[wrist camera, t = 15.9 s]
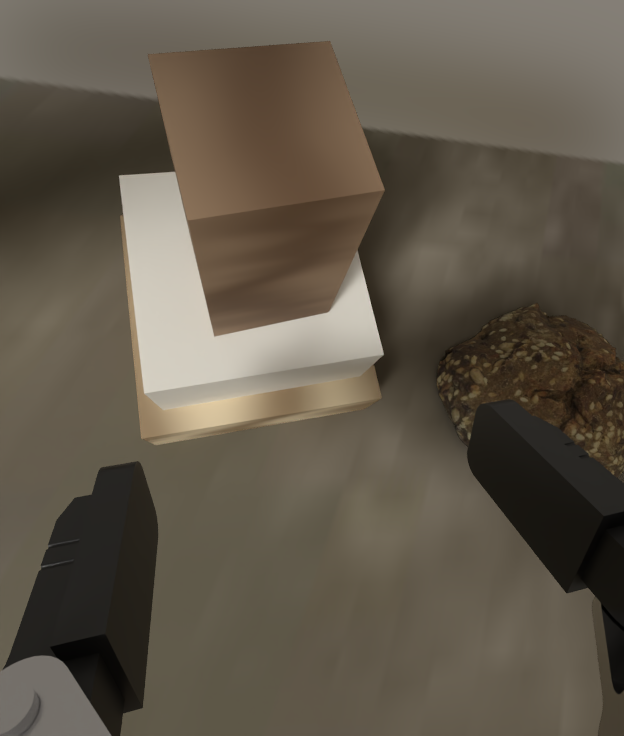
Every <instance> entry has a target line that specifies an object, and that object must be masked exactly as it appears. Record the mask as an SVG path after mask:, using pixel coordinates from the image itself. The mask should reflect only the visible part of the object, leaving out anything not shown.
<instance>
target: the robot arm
mask: <svg viewBox="0 0 624 736" xmlns="http://www.w3.org/2000/svg"><path fill="white" fill-rule="evenodd" d="M467 458H468V463H469V466H470V469H471V471H472V473H473V475H474V476H475V477H476V479H477V480H478V481H479V482H480V484H481V485H482V486H483V488H484V489H485V490H486V491H487V493H488V494H489V495H490V497H491V498H492V499H493V500H494V502H495V503H496V504H497V505H498V507H499V508H500V509H501V511H502V512H503V513H504V514H505V516H506V517H507V518H508V519H509V521H510V522H511V523H512V525H513V526H514V527H515V528H516V530H517V531H518V532H519V533H520V535H521V536H522V537H523V539H524V540H525V541H526V542H527V544H528V545H529V546H530V547H531V549H532V550H533V551H534V553H535V554H536V555H537V556H538V558H539V559H540V560H541V561H542V563H543V564H544V565H545V567H546V568H547V569H548V570H549V572H550V573H551V574H552V575H553V577H554V578H555V579H556V581H557V582H558V583H559V584H560V586H561V587H562V588H563V589H564V591H565V592H566V593H570V592H574V591H577V590H581V589H585V588H589V589H590V590H591V592H592V593H593V594H594V595H595V598H594V599H593V602H592V614H593V622H594V630H595V638H596V646H597V654H598V662H599V671H600V679H601V687H602V695H603V709H602V716H601V720H600V724H599V730H598V736H624V483H623V482H621V481H620V480H619V479H618V478H617V477H616V476H614V475H613V474H612V473H611V472H610V471H608V470H607V469H606V468H605V467H604V466H603V465H601V464H600V463H599V462H598V461H597V460H595V459H594V458H593V457H591V458H590V457H589V454H588V453H587V452H586V451H585V450H584V449H582V448H581V447H580V446H579V445H575V443H574V441H573V440H572V439H571V438H569V437H568V436H567V435H566V434H565V433H564V432H562V431H561V430H560V429H559V428H558V427H556V426H554V425H552V424H550V423H548V422H546V421H544V420H542V419H540V418H538V417H536V416H532V415H531V414H530V413H529V412H527V411H526V410H525V409H524V408H523V407H522V406H521V405H519V404H518V403H517V402H516V401H514V400H511V399H507V400H501V401H495V402H489V403H483V404H480V405H479V406H478V408H477V410H476V413H475V418H474V422H473V427H472V432H471V436H470V441H469V446H468V451H467ZM157 544H158V523H157V516H156V511H155V507H154V504H153V501H152V497H151V494H150V491H149V488H148V484H147V481H146V478H145V475H144V471H143V468H142V466H141V464H140V462H138V461H137V462H131V463H125V464H120V465H114V466H108V467H102V468H100V470H99V472H98V474H97V478H96V482H95V485H94V489H93V492H92V495H88V496H82V497H77V498H74V499H73V501H72V502H71V503H70V504H69V506H68V507H67V508H66V509H65V511H64V512H63V513H62V514H61V515H60V517H59V518H58V519H57V521H56V523H55V526H54V529H53V532H52V535H51V538H50V541H49V544H48V546H49V548H48V549H47V550H46V552H45V555H44V558H43V561H42V564H41V571H39V572H38V575H37V578H36V581H35V584H34V587H33V589H32V592H31V595H30V598H29V601H28V604H27V607H26V610H25V612H24V615H23V618H22V621H21V624H20V627H19V630H18V633H17V635H16V638H15V641H14V644H13V647H12V650H11V653H10V655H9V658H8V660H7V662H6V665H5V666H4V668H3V670H2V671H1V672H0V736H120V733H121V725H122V716H123V713H126V712H130V711H133V710H137V709H141V708H143V699H144V688H145V677H146V666H147V655H148V644H149V633H150V621H151V610H152V599H153V588H154V577H155V566H156V555H157Z"/></svg>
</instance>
